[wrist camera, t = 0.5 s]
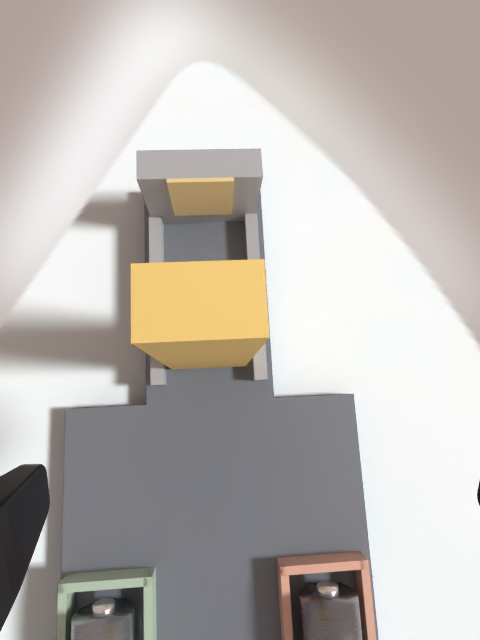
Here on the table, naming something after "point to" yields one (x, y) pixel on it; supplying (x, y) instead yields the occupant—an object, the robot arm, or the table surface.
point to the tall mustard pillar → (199, 312)
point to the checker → (211, 458)
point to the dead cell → (329, 612)
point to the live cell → (104, 620)
